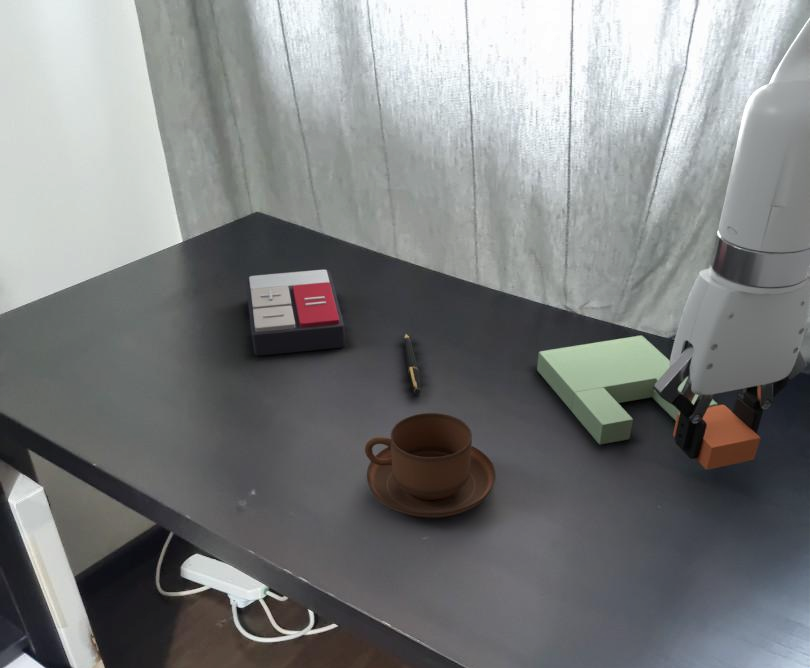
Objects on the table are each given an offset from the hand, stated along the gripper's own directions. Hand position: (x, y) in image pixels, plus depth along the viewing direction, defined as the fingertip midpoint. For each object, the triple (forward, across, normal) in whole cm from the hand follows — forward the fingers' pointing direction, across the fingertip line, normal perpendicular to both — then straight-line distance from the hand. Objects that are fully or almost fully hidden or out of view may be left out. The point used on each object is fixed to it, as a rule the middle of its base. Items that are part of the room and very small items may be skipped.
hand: (713, 443), depth 78 cm
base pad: (+3, +2, -15) cm, 15 cm away
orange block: (0, 0, 0) cm, 0 cm away
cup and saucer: (+3, +26, -5) cm, 27 cm away
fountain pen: (+3, +22, -28) cm, 35 cm away
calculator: (+3, +32, -43) cm, 54 cm away
